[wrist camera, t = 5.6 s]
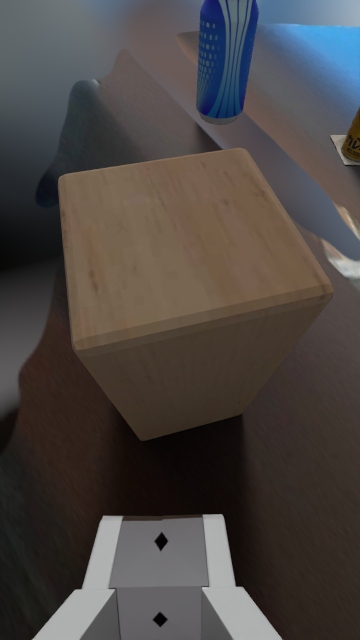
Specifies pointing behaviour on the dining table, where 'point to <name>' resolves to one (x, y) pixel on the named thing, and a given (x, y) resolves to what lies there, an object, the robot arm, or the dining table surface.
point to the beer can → (224, 57)
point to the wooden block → (184, 285)
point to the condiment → (349, 143)
